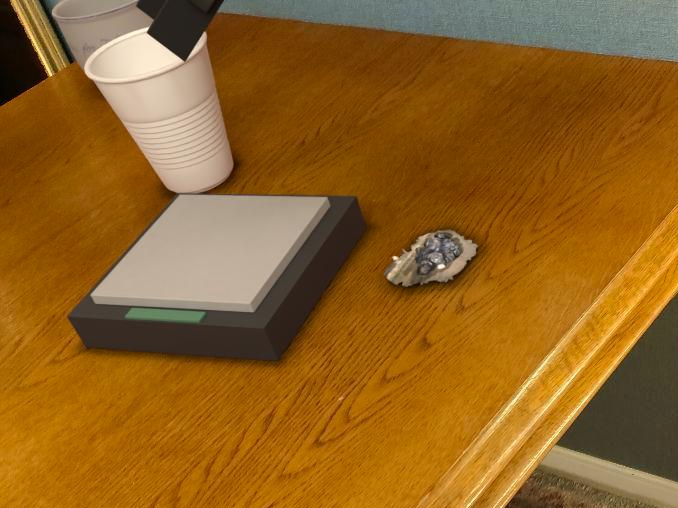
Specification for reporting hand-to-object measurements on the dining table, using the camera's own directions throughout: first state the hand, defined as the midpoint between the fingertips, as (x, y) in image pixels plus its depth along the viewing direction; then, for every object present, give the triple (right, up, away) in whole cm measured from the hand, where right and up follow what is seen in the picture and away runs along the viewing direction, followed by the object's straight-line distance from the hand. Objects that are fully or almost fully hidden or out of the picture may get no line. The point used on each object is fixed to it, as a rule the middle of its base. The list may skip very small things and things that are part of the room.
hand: (158, 32), depth 71 cm
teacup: (-13, +12, +33) cm, 38 cm away
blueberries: (+19, -16, +2) cm, 25 cm away
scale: (+4, -17, +4) cm, 18 cm away
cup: (-2, -5, +16) cm, 17 cm away
